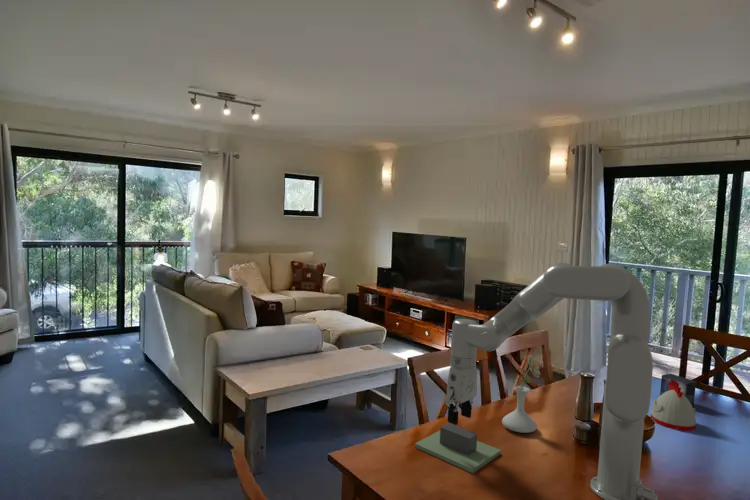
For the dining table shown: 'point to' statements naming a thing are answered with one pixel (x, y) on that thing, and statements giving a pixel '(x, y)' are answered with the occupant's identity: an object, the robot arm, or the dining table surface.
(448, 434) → the plug housing
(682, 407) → the kitchen timer
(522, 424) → the flower in vase
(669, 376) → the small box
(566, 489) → the dining table surface
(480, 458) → the board
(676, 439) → the dining table surface
